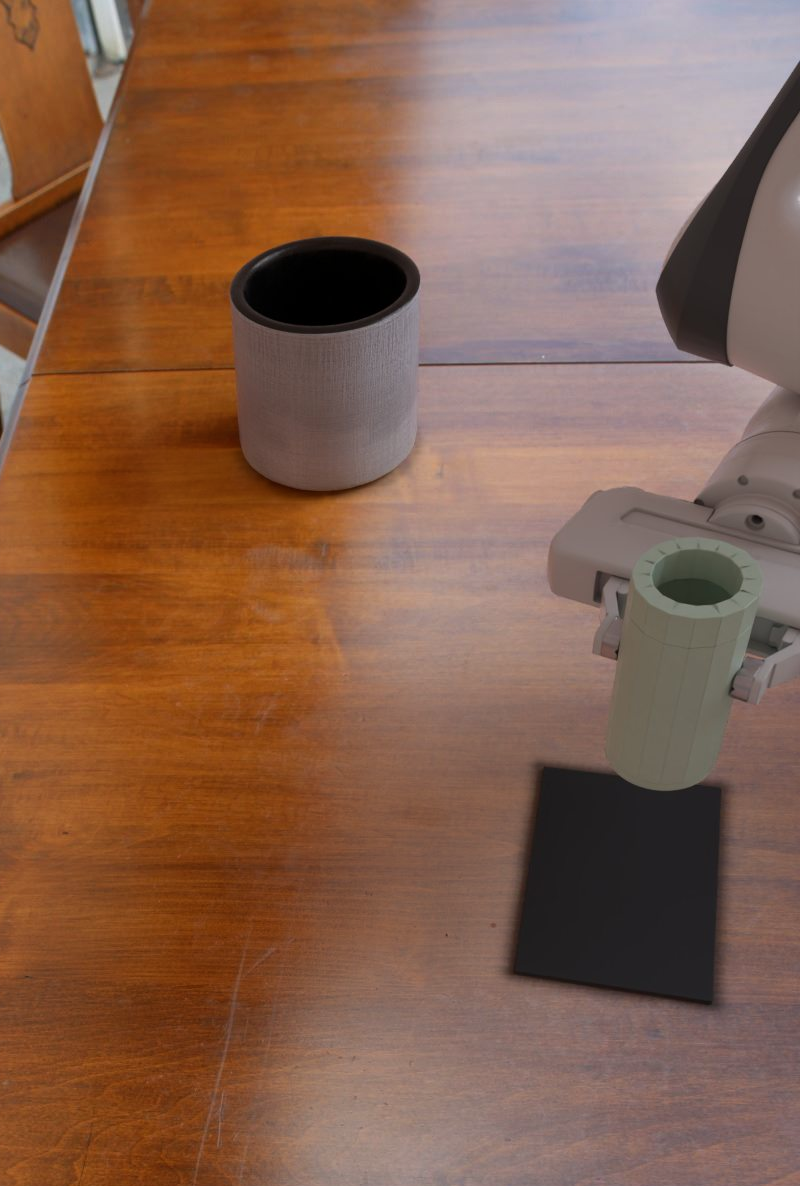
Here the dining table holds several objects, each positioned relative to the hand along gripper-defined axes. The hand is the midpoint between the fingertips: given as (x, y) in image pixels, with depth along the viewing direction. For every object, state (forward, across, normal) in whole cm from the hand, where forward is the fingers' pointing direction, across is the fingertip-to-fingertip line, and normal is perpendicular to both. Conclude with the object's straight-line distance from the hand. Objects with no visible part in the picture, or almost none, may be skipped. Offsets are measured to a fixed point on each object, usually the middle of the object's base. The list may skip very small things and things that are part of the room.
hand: (674, 670), depth 73 cm
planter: (-34, -44, +19) cm, 59 cm away
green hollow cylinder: (-1, 0, +7) cm, 7 cm away
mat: (0, -1, +20) cm, 20 cm away
